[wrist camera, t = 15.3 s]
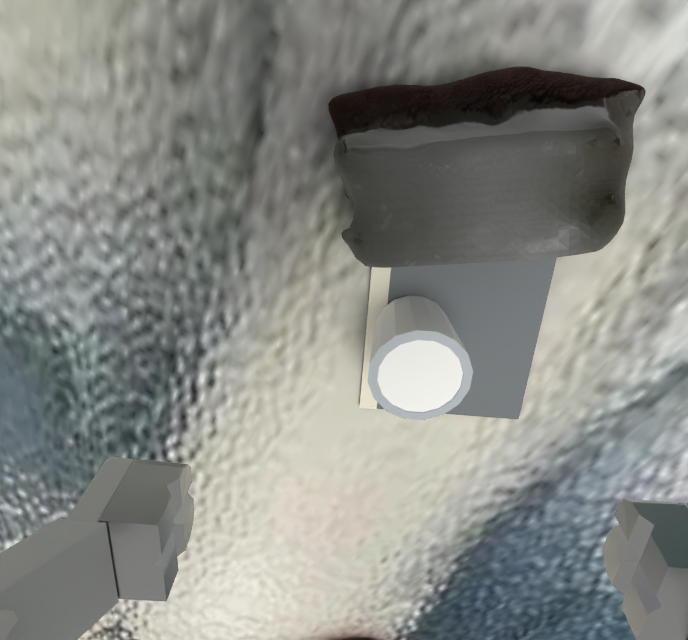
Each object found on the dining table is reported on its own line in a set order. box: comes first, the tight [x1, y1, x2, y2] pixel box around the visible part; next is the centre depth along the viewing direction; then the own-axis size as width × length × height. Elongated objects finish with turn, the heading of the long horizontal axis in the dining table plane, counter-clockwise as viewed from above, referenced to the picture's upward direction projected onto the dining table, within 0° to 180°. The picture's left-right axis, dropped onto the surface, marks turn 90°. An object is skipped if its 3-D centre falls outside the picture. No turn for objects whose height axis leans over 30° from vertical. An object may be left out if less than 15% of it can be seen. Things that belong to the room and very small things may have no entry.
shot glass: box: [368, 295, 473, 420], centre depth 40 cm, size 7×7×7 cm
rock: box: [328, 67, 645, 268], centre depth 35 cm, size 18×11×8 cm, turn 96°
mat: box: [359, 257, 557, 419], centre depth 44 cm, size 14×13×1 cm
